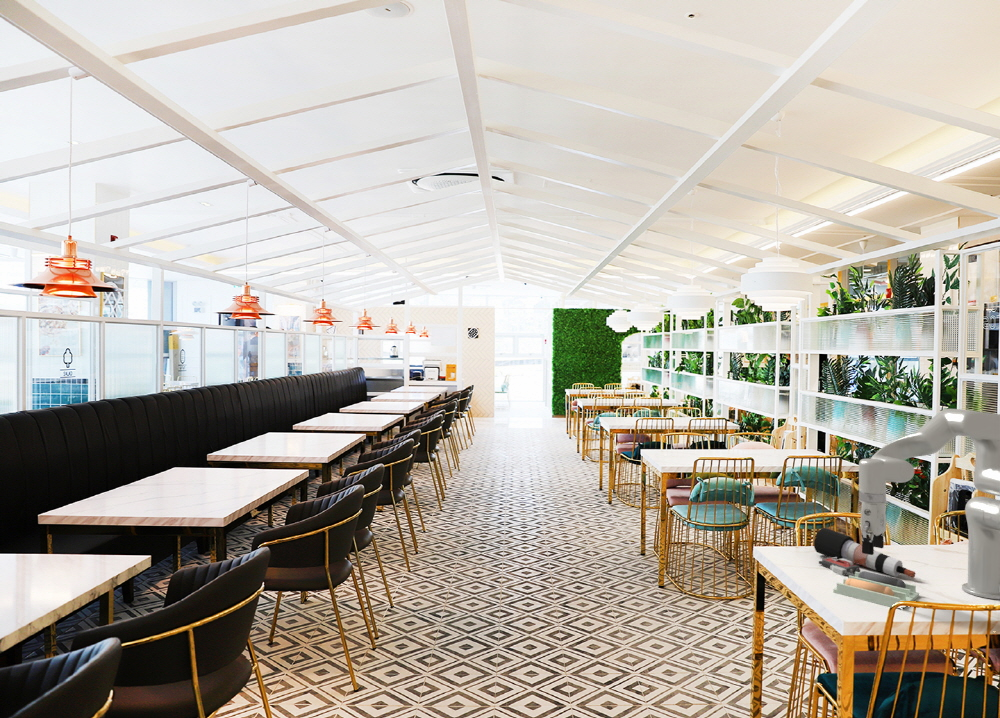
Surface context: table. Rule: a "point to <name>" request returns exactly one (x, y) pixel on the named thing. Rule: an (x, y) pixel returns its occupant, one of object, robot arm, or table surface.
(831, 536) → the cable
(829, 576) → the table surface
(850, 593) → the rack
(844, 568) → the walkie-talkie
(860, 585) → the tan capsule
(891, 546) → the table surface
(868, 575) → the gray pill-shaped rod
